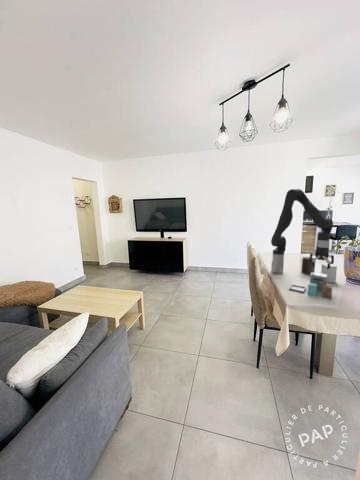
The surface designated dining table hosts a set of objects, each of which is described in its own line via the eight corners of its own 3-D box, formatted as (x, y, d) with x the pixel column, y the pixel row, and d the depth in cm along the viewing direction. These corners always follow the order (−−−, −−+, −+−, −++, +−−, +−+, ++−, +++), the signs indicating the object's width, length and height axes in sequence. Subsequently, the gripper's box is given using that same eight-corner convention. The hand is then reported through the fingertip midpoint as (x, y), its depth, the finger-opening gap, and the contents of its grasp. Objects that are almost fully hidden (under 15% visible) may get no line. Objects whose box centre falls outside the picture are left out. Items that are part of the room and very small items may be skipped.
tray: (289, 289, 138) (289, 288, 138) (291, 285, 145) (292, 284, 144) (303, 293, 132) (303, 291, 132) (306, 288, 139) (306, 287, 138)
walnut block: (322, 297, 125) (323, 286, 124) (323, 294, 129) (323, 284, 128) (331, 298, 123) (332, 288, 121) (331, 296, 126) (332, 286, 125)
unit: (309, 289, 137) (310, 274, 135) (311, 286, 143) (312, 271, 141) (325, 292, 131) (326, 277, 130) (326, 289, 137) (327, 274, 135)
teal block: (307, 294, 130) (308, 284, 129) (308, 292, 133) (309, 282, 132) (315, 296, 127) (316, 286, 126) (316, 293, 130) (317, 283, 129)
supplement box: (335, 282, 149) (337, 266, 147) (325, 282, 150) (326, 266, 148) (330, 279, 156) (331, 263, 154) (320, 278, 157) (321, 263, 155)
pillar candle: (302, 274, 169) (304, 257, 167) (300, 270, 178) (301, 255, 175) (315, 275, 165) (317, 258, 163) (312, 271, 174) (314, 255, 172)
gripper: (309, 245, 140) (308, 267, 143) (334, 248, 131) (332, 271, 133) (311, 244, 146) (309, 265, 148) (335, 246, 136) (333, 268, 139)
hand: (320, 267), depth 141 cm, fingers open, 8 cm apart
